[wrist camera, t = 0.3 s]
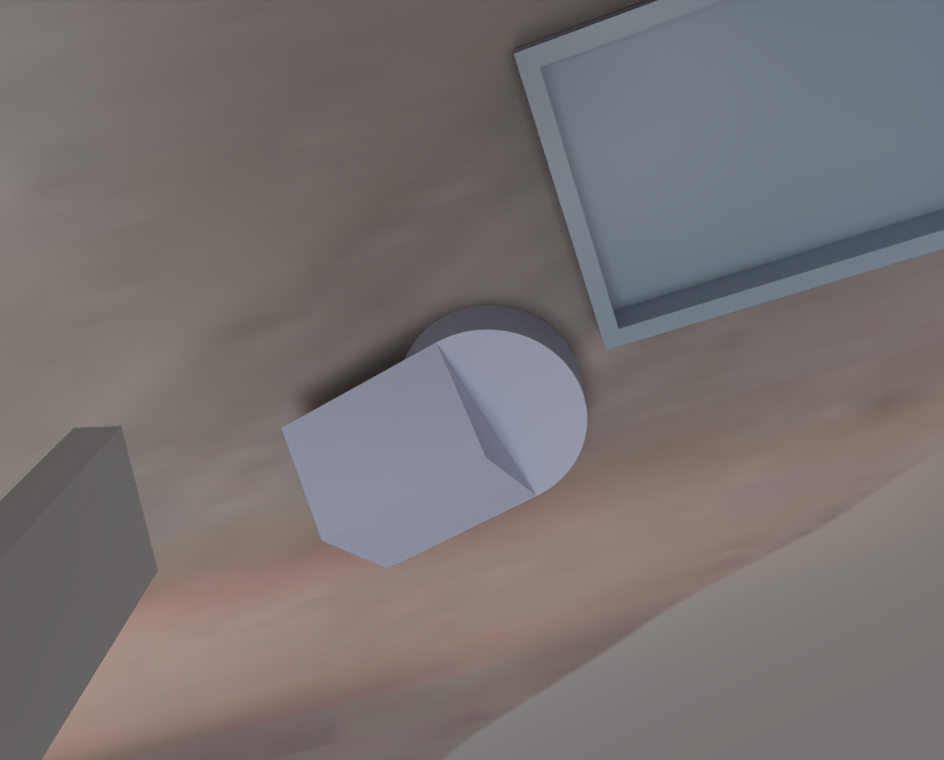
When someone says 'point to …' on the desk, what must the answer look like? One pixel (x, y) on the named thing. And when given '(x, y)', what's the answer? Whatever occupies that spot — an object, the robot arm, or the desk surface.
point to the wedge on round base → (443, 435)
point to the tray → (740, 149)
